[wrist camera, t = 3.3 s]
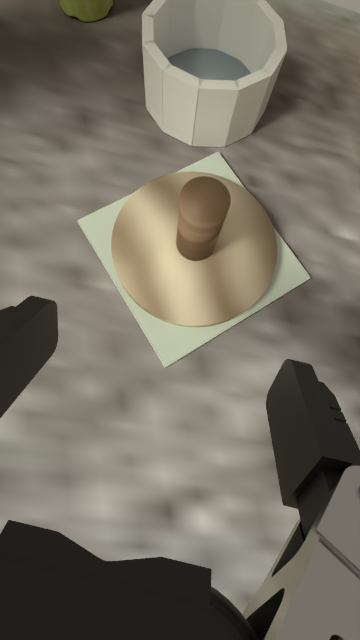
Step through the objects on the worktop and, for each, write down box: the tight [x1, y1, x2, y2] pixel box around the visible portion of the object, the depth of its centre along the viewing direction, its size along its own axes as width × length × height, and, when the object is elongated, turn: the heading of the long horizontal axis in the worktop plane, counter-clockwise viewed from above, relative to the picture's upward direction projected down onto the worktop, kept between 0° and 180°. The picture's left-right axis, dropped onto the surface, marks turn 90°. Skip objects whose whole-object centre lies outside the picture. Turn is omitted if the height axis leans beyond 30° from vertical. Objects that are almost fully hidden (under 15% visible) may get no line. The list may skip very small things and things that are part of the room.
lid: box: [111, 171, 278, 327], centre depth 23 cm, size 15×15×8 cm
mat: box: [77, 152, 311, 368], centre depth 27 cm, size 16×16×1 cm
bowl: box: [142, 0, 287, 147], centre depth 29 cm, size 13×13×6 cm
